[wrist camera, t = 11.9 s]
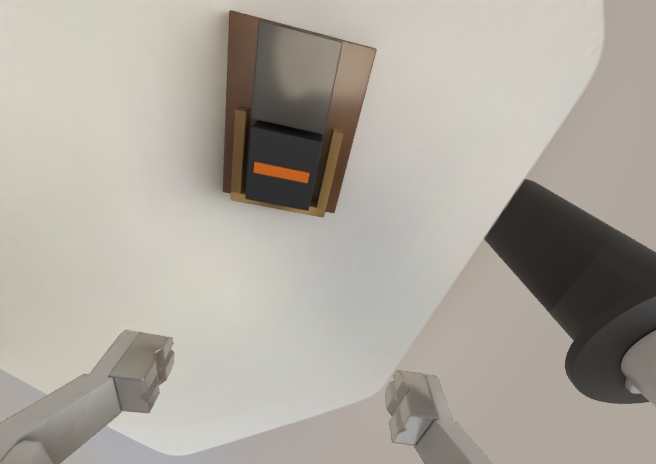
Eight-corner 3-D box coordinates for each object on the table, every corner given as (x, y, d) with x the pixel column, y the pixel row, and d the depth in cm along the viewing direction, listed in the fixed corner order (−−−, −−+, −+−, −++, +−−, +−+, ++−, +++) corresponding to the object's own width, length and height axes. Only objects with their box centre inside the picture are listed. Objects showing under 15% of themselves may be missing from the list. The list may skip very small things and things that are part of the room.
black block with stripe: (323, 132, 23) (322, 142, 20) (310, 196, 26) (308, 212, 23) (258, 118, 22) (250, 126, 20) (252, 184, 25) (244, 200, 22)
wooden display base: (374, 49, 21) (384, 47, 17) (334, 208, 27) (335, 230, 24) (233, 11, 20) (213, 2, 16) (225, 187, 26) (210, 207, 23)
